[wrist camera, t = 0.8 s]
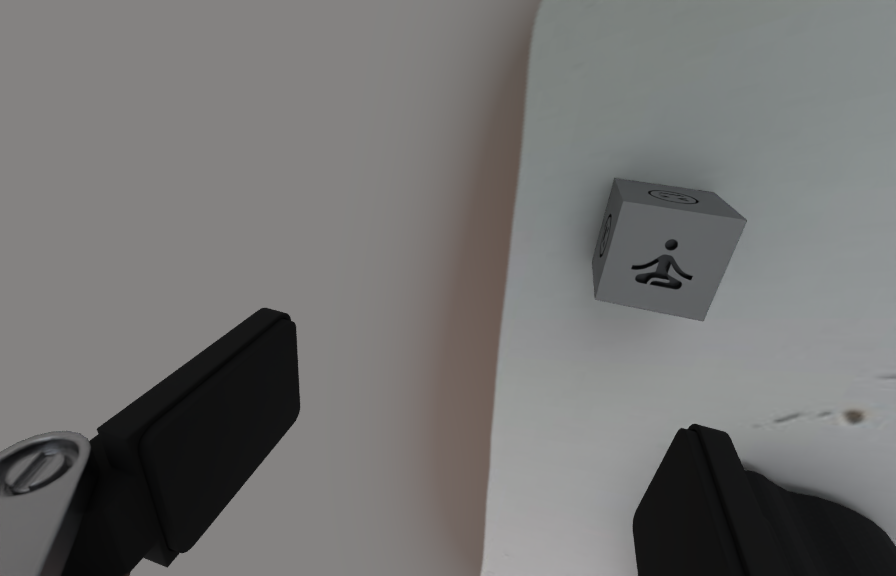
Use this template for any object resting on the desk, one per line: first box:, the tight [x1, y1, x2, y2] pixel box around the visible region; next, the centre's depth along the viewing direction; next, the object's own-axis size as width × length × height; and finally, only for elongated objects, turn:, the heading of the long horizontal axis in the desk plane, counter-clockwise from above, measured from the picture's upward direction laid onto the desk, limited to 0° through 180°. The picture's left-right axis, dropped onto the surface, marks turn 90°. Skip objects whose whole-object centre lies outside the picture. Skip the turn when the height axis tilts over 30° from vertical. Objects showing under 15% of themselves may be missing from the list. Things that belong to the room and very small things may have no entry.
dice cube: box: [592, 178, 747, 321], centre depth 22 cm, size 5×5×5 cm
